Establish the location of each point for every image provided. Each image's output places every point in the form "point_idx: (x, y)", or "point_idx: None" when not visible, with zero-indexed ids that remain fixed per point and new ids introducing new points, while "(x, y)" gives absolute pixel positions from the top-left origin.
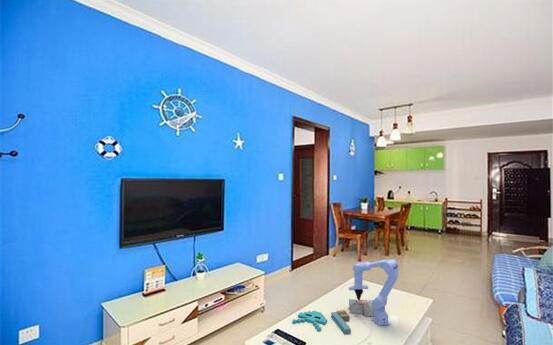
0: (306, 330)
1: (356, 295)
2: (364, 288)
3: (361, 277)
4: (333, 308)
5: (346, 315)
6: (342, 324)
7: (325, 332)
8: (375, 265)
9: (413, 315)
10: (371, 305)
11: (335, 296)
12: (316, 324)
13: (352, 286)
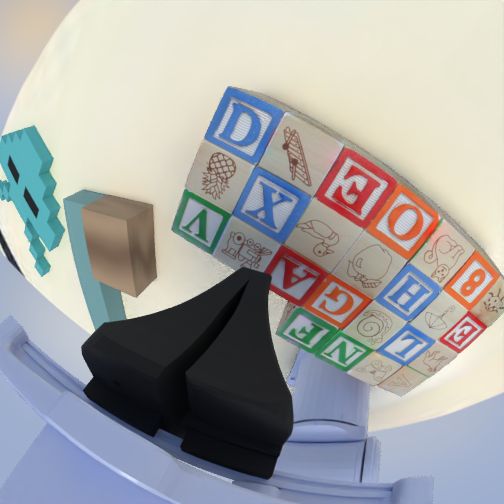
0: (23, 244)
1: (211, 292)
2: (331, 493)
3: None
4: (125, 82)
5: (119, 286)
6: (95, 318)
7: (60, 284)
8: None
9: None
10: (374, 344)
11: None
12: (31, 247)
13: (18, 382)
